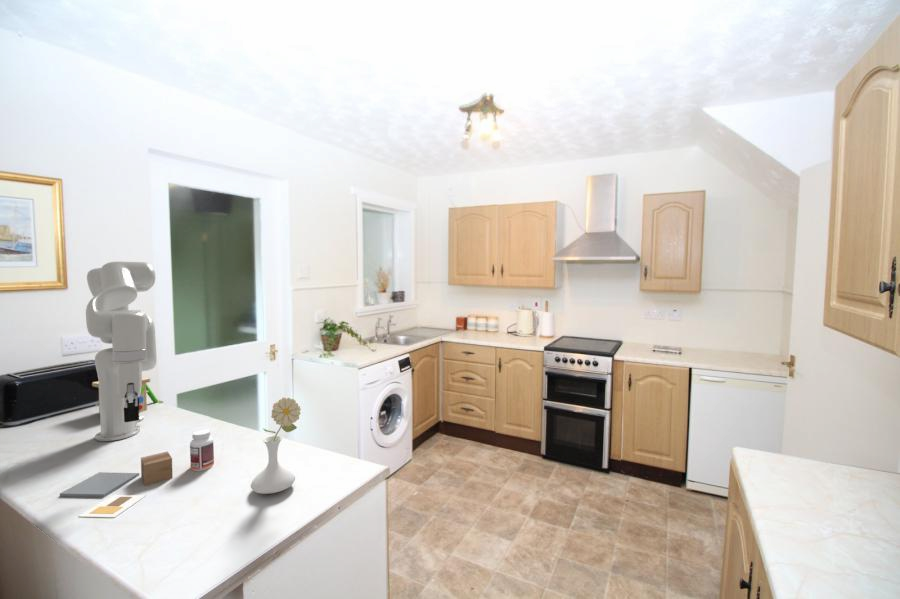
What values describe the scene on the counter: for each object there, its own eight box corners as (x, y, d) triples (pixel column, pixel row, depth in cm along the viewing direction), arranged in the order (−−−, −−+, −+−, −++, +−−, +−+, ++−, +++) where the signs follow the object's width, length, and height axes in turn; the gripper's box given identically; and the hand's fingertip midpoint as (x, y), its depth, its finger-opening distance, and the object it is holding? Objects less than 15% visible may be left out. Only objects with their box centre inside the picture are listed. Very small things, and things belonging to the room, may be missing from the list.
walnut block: (141, 477, 120) (140, 457, 120) (168, 470, 125) (167, 451, 124) (144, 486, 116) (144, 465, 115) (172, 478, 120) (171, 458, 120)
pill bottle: (214, 461, 131) (214, 427, 130) (213, 469, 125) (212, 433, 125) (191, 465, 128) (190, 430, 128) (189, 473, 123) (188, 437, 122)
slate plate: (99, 475, 122) (99, 472, 122) (139, 475, 121) (139, 473, 121) (59, 496, 110) (59, 493, 110) (104, 497, 109) (104, 494, 109)
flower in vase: (249, 502, 107) (248, 407, 106) (251, 482, 118) (249, 395, 117) (303, 492, 113) (301, 401, 111) (300, 473, 123) (299, 390, 122)
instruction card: (112, 495, 110) (112, 494, 110) (146, 496, 110) (146, 495, 110) (78, 516, 100) (78, 516, 100) (114, 517, 100) (114, 516, 100)
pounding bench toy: (151, 405, 188) (150, 366, 188) (172, 409, 183) (171, 369, 182) (92, 421, 167) (90, 377, 166) (114, 426, 162) (112, 380, 161)
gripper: (114, 353, 121) (116, 411, 121) (110, 362, 107) (113, 427, 107) (146, 351, 125) (148, 407, 126) (147, 359, 111) (149, 422, 112)
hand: (132, 416), depth 117 cm, fingers open, 9 cm apart
